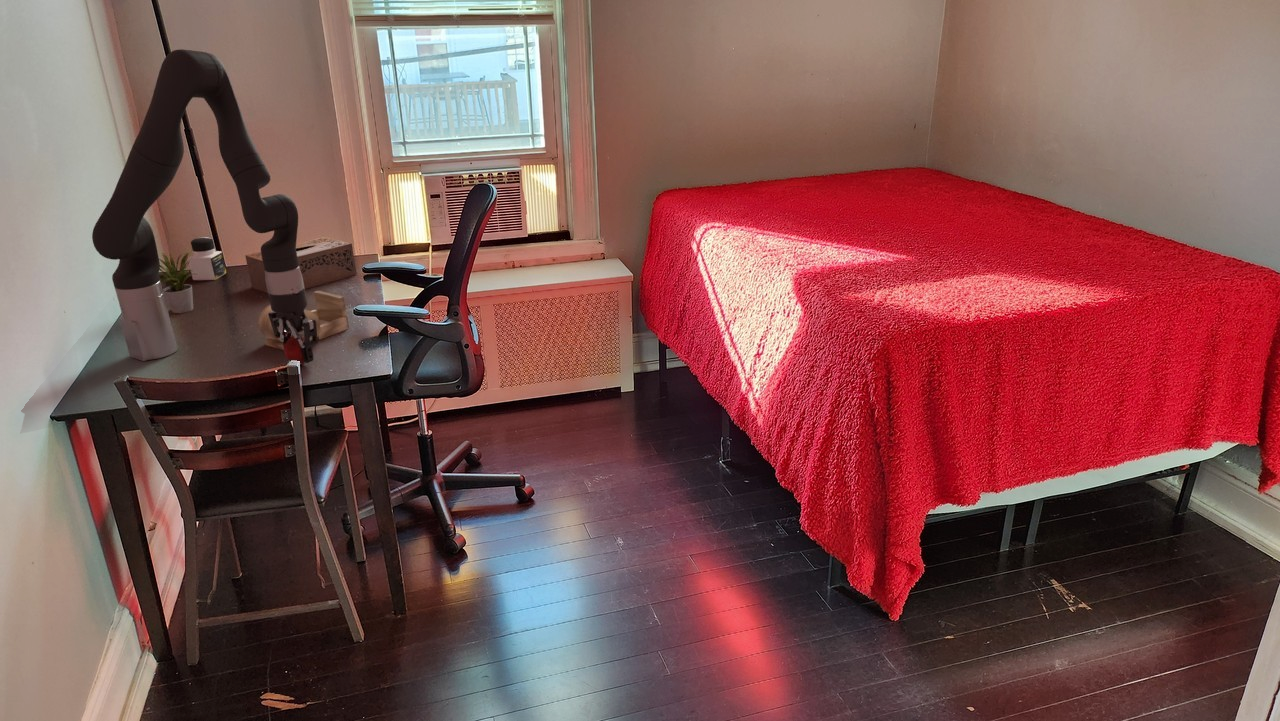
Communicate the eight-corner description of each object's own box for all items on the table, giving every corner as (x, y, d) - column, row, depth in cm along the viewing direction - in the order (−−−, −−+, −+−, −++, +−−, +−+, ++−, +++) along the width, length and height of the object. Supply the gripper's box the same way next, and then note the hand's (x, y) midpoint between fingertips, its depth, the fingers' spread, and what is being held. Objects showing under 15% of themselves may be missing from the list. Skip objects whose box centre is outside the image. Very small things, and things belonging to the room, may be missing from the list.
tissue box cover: (277, 297, 237) (270, 263, 233) (252, 288, 245) (245, 255, 242) (357, 275, 255) (351, 243, 251) (330, 267, 264) (325, 236, 260)
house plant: (180, 298, 237) (166, 242, 230) (223, 301, 234) (210, 244, 228) (143, 316, 224) (127, 256, 217) (188, 318, 221) (173, 258, 215)
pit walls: (319, 339, 204) (313, 308, 201) (288, 330, 211) (282, 300, 208) (352, 327, 212) (346, 297, 209) (320, 319, 218) (315, 289, 215)
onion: (305, 371, 187) (298, 337, 184) (282, 369, 188) (275, 336, 185) (319, 360, 192) (313, 328, 189) (296, 359, 193) (290, 327, 190)
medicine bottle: (216, 280, 253) (207, 241, 248) (192, 280, 253) (183, 241, 248) (227, 273, 259) (218, 235, 255) (204, 273, 260) (195, 235, 255)
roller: (323, 340, 204) (316, 305, 200) (291, 352, 197) (283, 316, 193) (294, 332, 209) (288, 298, 206) (262, 344, 203) (255, 309, 199)
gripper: (250, 287, 184) (265, 358, 190) (291, 297, 176) (305, 371, 183) (280, 278, 189) (294, 347, 196) (321, 288, 182) (334, 359, 189)
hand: (299, 358), depth 189 cm, fingers closed on onion, 5 cm apart
